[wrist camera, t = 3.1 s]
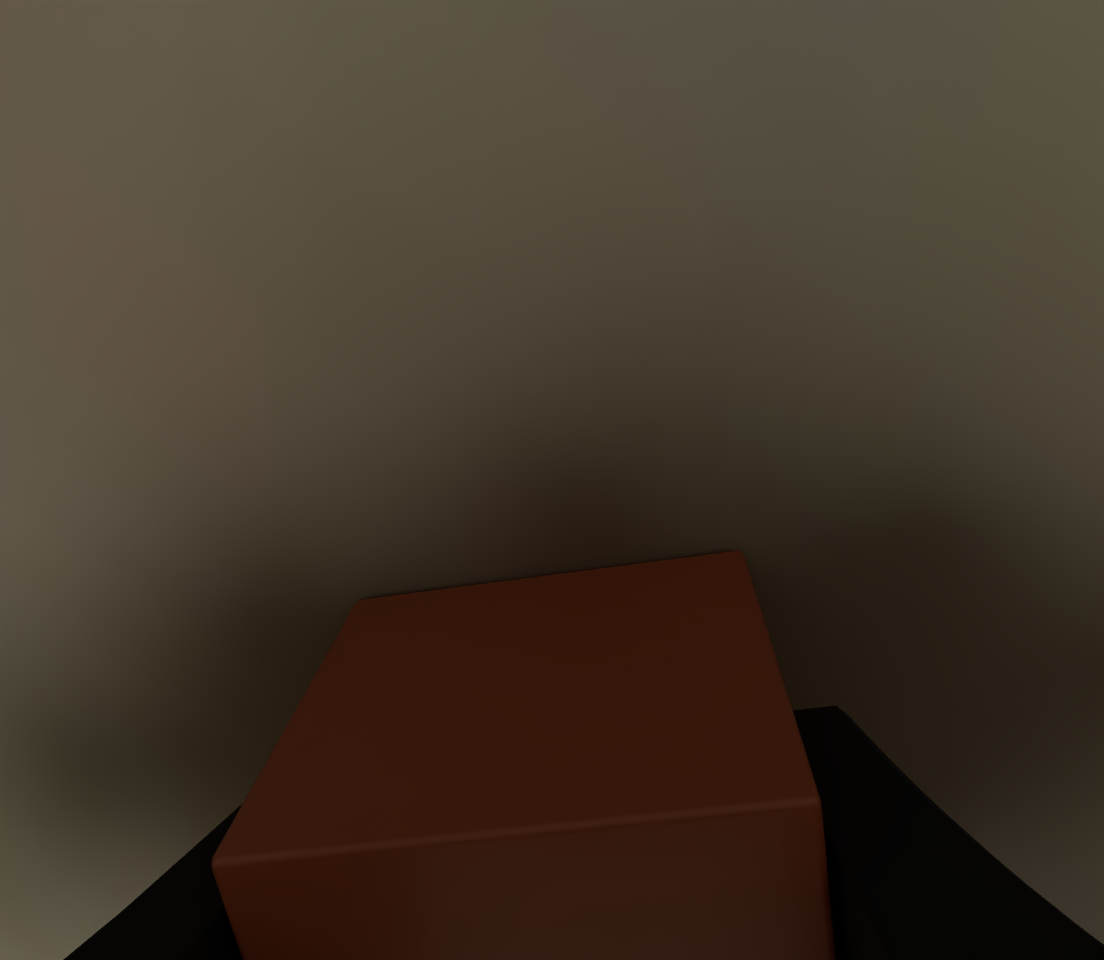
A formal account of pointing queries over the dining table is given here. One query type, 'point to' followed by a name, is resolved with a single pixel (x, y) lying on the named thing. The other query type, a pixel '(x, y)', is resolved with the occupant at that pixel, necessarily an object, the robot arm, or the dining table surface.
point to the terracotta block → (540, 782)
